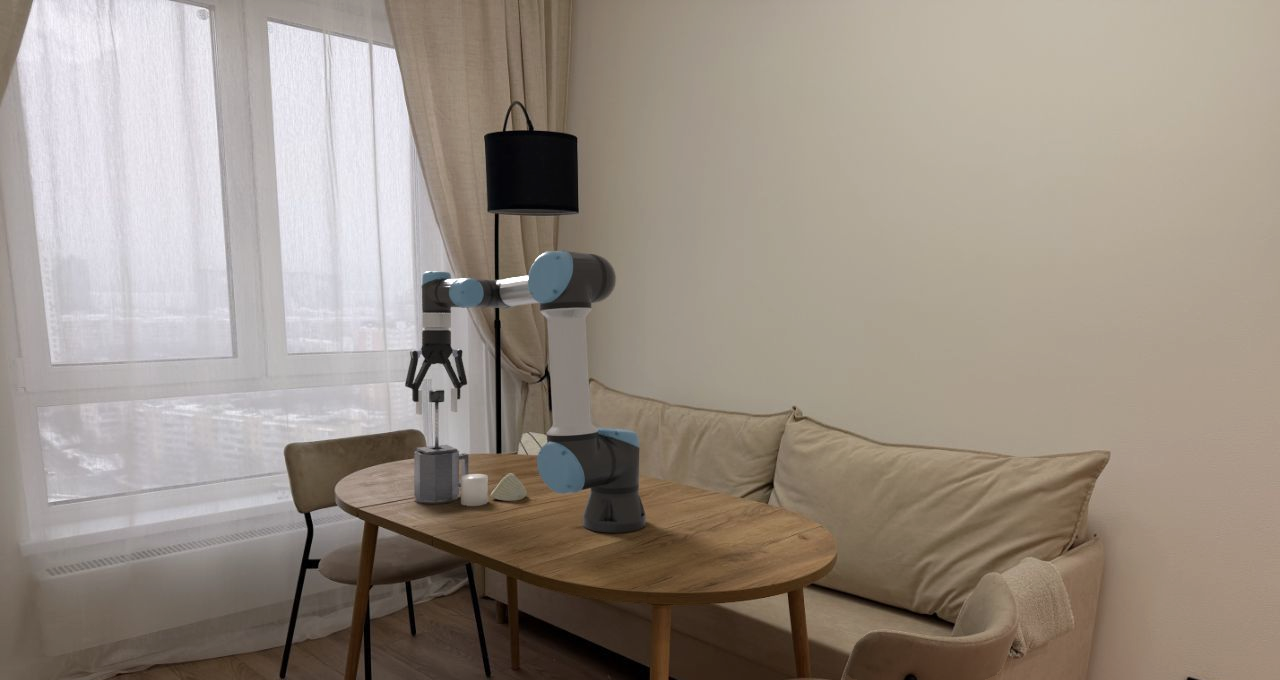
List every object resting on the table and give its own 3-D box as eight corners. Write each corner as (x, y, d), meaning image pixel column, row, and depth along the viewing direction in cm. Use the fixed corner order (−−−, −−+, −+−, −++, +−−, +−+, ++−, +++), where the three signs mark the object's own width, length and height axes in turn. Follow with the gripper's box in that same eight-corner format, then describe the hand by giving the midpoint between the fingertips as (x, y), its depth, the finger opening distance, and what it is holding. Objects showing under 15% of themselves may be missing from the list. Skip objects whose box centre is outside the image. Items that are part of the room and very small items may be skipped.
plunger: (455, 461, 206) (455, 391, 205) (427, 464, 202) (427, 392, 201) (445, 456, 212) (445, 388, 212) (418, 459, 208) (418, 389, 207)
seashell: (535, 491, 208) (513, 480, 203) (515, 514, 209) (493, 504, 204) (525, 474, 215) (504, 463, 210) (506, 497, 215) (484, 487, 210)
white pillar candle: (491, 503, 203) (491, 477, 203) (466, 507, 199) (466, 480, 199) (481, 498, 209) (481, 472, 209) (456, 501, 205) (456, 475, 205)
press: (474, 499, 208) (474, 448, 207) (423, 506, 200) (423, 453, 199) (459, 490, 217) (459, 442, 216) (409, 497, 209) (409, 447, 208)
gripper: (469, 328, 215) (469, 408, 216) (391, 329, 203) (391, 413, 203) (480, 329, 209) (480, 411, 210) (400, 329, 196) (400, 417, 197)
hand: (436, 412), depth 207 cm, fingers open, 9 cm apart
